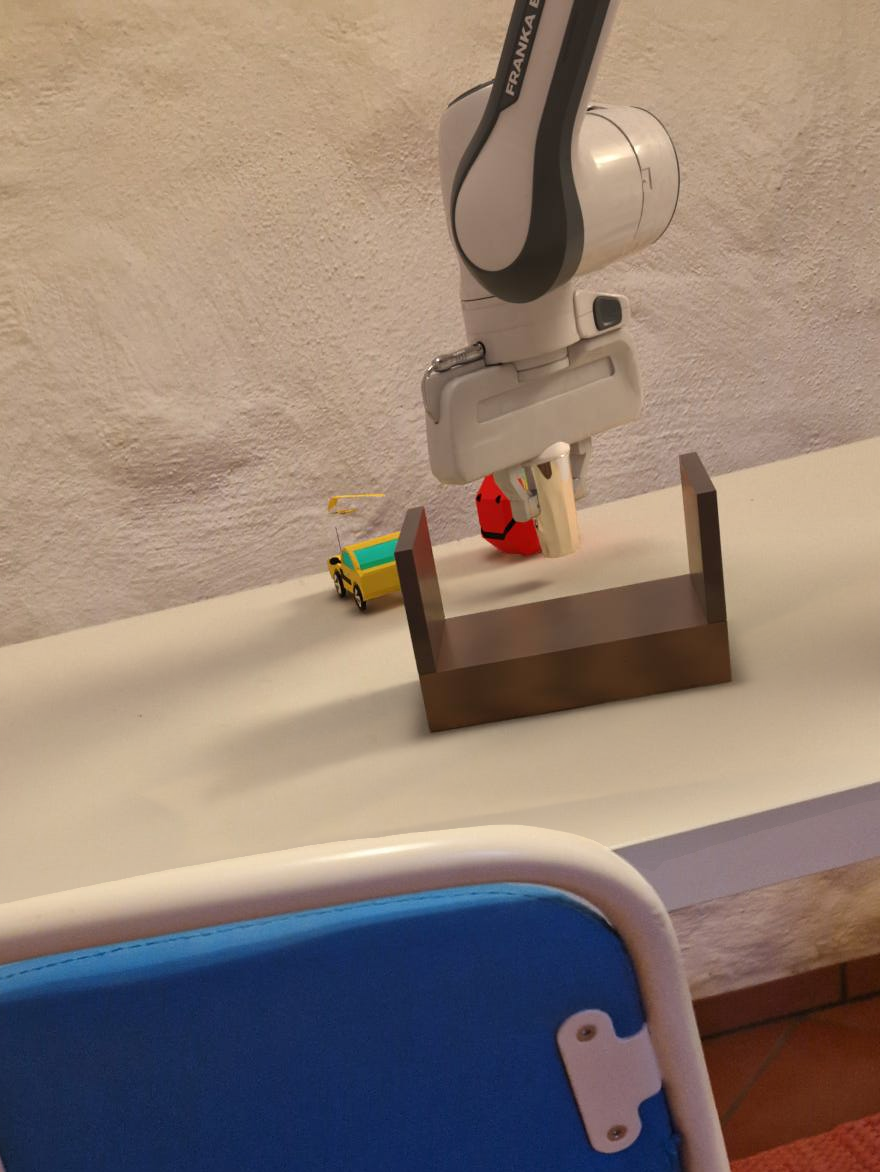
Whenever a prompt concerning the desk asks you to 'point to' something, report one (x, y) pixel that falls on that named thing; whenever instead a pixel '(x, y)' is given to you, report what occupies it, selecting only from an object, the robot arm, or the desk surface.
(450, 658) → the shelf
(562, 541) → the milkshake
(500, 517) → the ball
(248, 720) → the desk surface
